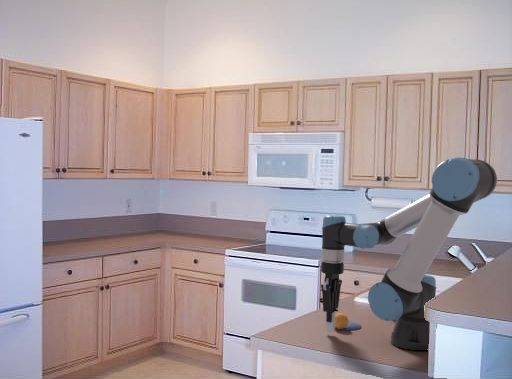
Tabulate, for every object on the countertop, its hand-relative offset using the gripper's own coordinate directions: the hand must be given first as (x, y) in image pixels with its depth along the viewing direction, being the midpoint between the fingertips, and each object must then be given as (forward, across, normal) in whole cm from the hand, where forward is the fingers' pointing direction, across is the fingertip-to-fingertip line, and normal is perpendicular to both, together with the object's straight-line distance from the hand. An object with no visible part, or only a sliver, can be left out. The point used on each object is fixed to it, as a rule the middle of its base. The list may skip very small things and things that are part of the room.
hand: (330, 330), depth 191 cm
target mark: (+1, -14, 0) cm, 14 cm away
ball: (-1, -9, 0) cm, 9 cm away
